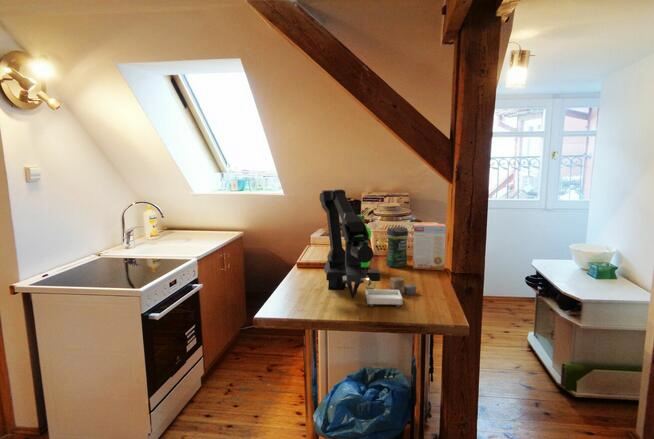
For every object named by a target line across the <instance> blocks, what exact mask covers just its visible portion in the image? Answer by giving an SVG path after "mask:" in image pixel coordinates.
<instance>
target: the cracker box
mask: <svg viewBox="0 0 654 439" xmlns="http://www.w3.org/2000/svg"><path fill="white" fill-rule="evenodd" d="M413 225H414V226H413V253H412V254H413V255H412V256H413V257H412V258H413V259H412V261H413V262H412V269H413V270H428V271H431V270H432V271H445V263H446V262H445V261H446V237H447V236H446V231H447V225H446V224H445V223H433V222H432V223H431V222H429V223H428V222H427V223H426V222H424V223H423V222H422V223H420V222H414V224H413Z"/></svg>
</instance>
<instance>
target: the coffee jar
mask: <svg viewBox="0 0 654 439" xmlns="http://www.w3.org/2000/svg"><path fill="white" fill-rule="evenodd" d="M386 233H387V235H386V236H387V252H386V260H385V264H386V266H388V267H389V268H396V269H397V268H402V267H407V265H408V256H407V255H408V254H407V241H408V237H409V230H408V228H407V227H404V226H395V227H394V226H393V227H389V228H388V229H387V232H386Z"/></svg>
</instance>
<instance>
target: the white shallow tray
mask: <svg viewBox="0 0 654 439" xmlns="http://www.w3.org/2000/svg"><path fill="white" fill-rule="evenodd" d="M365 296H366V303H367V305H369V307H370V308H373V307H374V305H395V307H396V308H400V307H401V305H403V300H404V299H403V296H402V295H401V294H400V291H399V290H390V289H376V290H369V289H366V293H365Z"/></svg>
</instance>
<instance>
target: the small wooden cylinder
mask: <svg viewBox="0 0 654 439" xmlns="http://www.w3.org/2000/svg"><path fill="white" fill-rule="evenodd" d="M364 279H365V280H364V294H366V289H369V290H377V288H376V287H377V286H376V284H377V283H376V282H377V281H371V280H370V279H369V277H366V278H364Z"/></svg>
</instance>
